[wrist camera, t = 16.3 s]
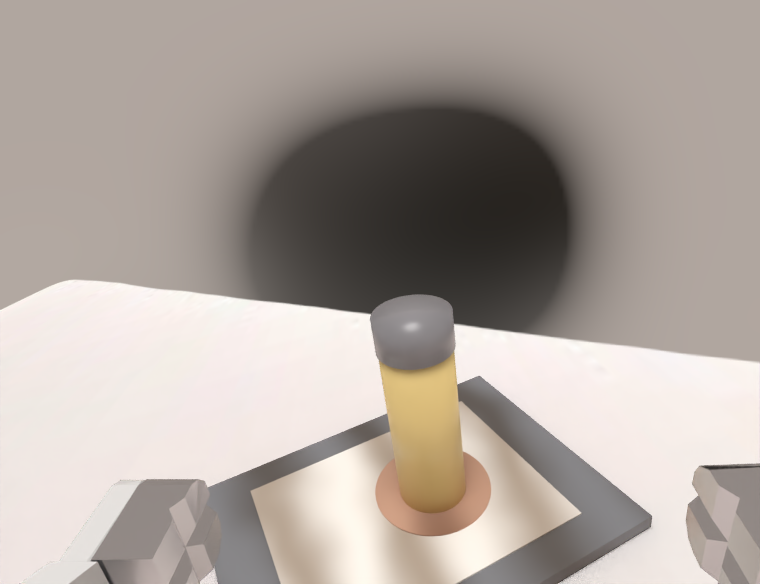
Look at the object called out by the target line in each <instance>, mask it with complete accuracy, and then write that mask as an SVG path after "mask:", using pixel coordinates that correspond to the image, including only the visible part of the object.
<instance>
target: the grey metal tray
mask: <svg viewBox="0 0 760 584" xmlns="http://www.w3.org/2000/svg"><path fill="white" fill-rule="evenodd" d="M457 390H458V401H459V413H460V424H461V436H462V447H463V459H464V470H465V482H466V490H465V494H464V496H463V498H462V500H461V501H460V502H459V503H458V504H457V505H456V506H455V507H453V508H451V509H449V510H447V511H444V512H440V513H423V512H419V511H416V510H414V509H412V508H411V507H409V506H408V505H407V504H406V503H405V502H404V500H403V499H402V497H401V494H400V488H399V482H398V476H397V470H396V463H395V457H394V451H393V445H392V439H391V433H390V426H389V420H388V414H385V415H383V416H380V417H378V418H375V419H373V420H371V421H368V422H366V423H363V424H361V425H358V426H356V427H354V428H351V429H349V430H346V431H344V432H341V433H339V434H337V435H334V436H332V437H329V438H327V439H325V440H322V441H320V442H317V443H315V444H312V445H310V446H308V447H305V448H303V449H300V450H298V451H295V452H293V453H291V454H288V455H286V456H283V457H281V458H278V459H276V460H274V461H271V462H269V463H266V464H264V465H261V466H259V467H257V468H254V469H252V470H249V471H247V472H244V473H242V474H240V475H237V476H235V477H232V478H230V479H228V480H225V481H223V482H220V483H218V484H215V485H213V486H211V487H208V490H209V493H210V497H209V499H208V501H207V503H206V505H208V506H209V507H210V508H212V509H213V510H214V511H215V512H217V514H218V517H219V520H220V524H221V534H222V537H221V544H220V551H219V555H218V558H217V560H216V563H215V571H216V576H217V581H218V584H557V583H559V582H560V581H562V580H563V579H565V578H567V577H568V576H570V575H572V574H573V573H575V572H577V571H578V570H580V569H582V568H583V567H585V566H587V565H588V564H590V563H591V562H593V561H595V560H596V559H598V558H600V557H601V556H603V555H605V554H606V553H608V552H610V551H611V550H613V549H615V548H616V547H618V546H619V545H621V544H623V543H624V542H626V541H628V540H629V539H631V538H633V537H634V536H636V535H638V534H639V533H641V532H643V531H644V530H646V529H647V528H649V527H651V521H652V516H651V515H650V514H649V513H648V512H646V511H645V510H644V509H643V508H642V507H640V506H639V505H638V504H637V503H635V502H634V501H633V500H632V499H630V498H629V497H628V496H627V495H626V494H624V493H623V492H622V491H621V490H619V489H618V488H617V487H616V486H614V485H613V484H612V483H611V482H610V481H608V480H607V479H606V478H605V477H603V476H602V475H601V474H600V473H598V472H597V471H596V470H595V469H594V468H592V467H591V466H590V465H589V464H587V463H586V462H585V461H584V460H582V459H581V458H580V457H579V456H578V455H576V454H575V453H574V452H573V451H571V450H570V449H569V448H568V447H566V446H565V445H564V444H563V443H562V442H560V441H559V440H558V439H557V438H555V437H554V436H553V435H552V434H550V433H549V432H548V431H547V430H546V429H544V428H543V427H542V426H541V425H539V424H538V423H537V422H536V421H534V420H533V419H532V418H531V417H530V416H528V415H527V414H526V413H525V412H523V411H522V410H521V409H520V408H518V407H517V406H516V405H515V404H514V403H512V402H511V401H510V400H509V399H507V398H506V397H505V396H504V395H502V394H501V393H500V392H499V391H498V390H496V389H495V388H494V387H493V386H491V385H490V384H489V383H488V382H486V381H485V380H484V379H483V378H482V377H480V376H477V377H475V378H472V379H470V380H468V381H465V382H463V383H460V384H458V385H457Z"/></svg>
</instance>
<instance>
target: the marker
mask: <svg viewBox="0 0 760 584" xmlns="http://www.w3.org/2000/svg"><path fill="white" fill-rule="evenodd" d="M370 321H371V327H372V333H373V339H374V345H375V352H376V356H377V358H378V359H379V364H380V371H381V377H382V383H383V389H384V395H385V402H386V408H387V414H388V420H389V426H390V433H391V439H392V445H393V451H394V457H395V463H396V470H397V476H398V482H399V488H400V494H401V497H402V499H403V500H404V502H405V503H406V504H407V505H408V506H409V507H411V508H412V509H414V510H416V511H419V512H423V513H440V512H444V511H447V510H449V509H451V508H453V507H455V506H456V505H457V504H458V503H459V502H460V501H461V500H462V498H463V496H464V494H465V490H466V482H465V470H464V459H463V447H462V436H461V424H460V413H459V401H458V390H457V378H456V367H455V355H454V350H455V333H454V321H453V310H452V307H451V305H450V304H449V303H448V302H447V301H445V300H444V299H441V298H439V297H435V296H430V295H409V296H402V297H398V298H394V299H391V300H389V301H386V302H384V303H382V304H381V305H379V306H378V307H377V308H376V309H375V310H374V311H373V312H372V314H371V316H370Z"/></svg>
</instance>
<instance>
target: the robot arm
mask: <svg viewBox="0 0 760 584" xmlns="http://www.w3.org/2000/svg"><path fill="white" fill-rule="evenodd" d="M692 485H693V486H694V488H695V490H696V492H697V493H698V495H699V496H697V497H696V498H695V499H694V500H693V501H692V502H690V503H689V504H688V509H687V516H686V524H687V532H688V538H689V541H690V544H691V547H692V550H693V553H694V555H695V557H696V559H697V561H698V563H699V565H700V567H701V568H702V569H703V570H704V571H705V572H707V573H708V574H709V575H711V576H712V577H713V578H715V579H716V580H717V581H718V584H760V463H759V464H731V465H704V466H699V467H698V468H697V469H696V471H695V472H694V477H693V482H692ZM209 497H210V493H209V490H208V488H207V485H206V483H205V481H202V480H198V479H147V480H120V481H118V482H117V483H115V484H114V485H112V486H111V487H110V489H109V490H108V492H107V493H106V495H105V496H104V497H103V499H102V500H101V502H100V503H99V505H98V506H97V507H96V509H95V510H94V512H93V513H92V515H91V516H90V517H89V519H88V520H87V522H86V523H85V525H84V526H83V527H82V529H81V530H80V532H79V533H78V535H77V536H76V537H75V539H74V540H73V542H72V543H71V545H70V546H69V547H68V549H67V550H66V552H65V553H64V555H63V556H62V557H61V559H60V560H59V562H49V563H48V564H46V565H45V566H44V567H42V568H41V569H39V570H38V571H36V572H35V573H34V574H32V575H31V576H29V577H28V578H27V579H25V580H24V581H22V582H21V583H19V584H200V581H201V580H202V579H203V578H204V577H205V576H206V575H208V574H209V573H210V572H211V571H212V570H213V568H214V566H215V563H216V560H217V558H218V555H219V551H220V544H221V537H222V534H221V524H220V520H219V517H218V514H217V512H215V511H214V510H213V509H212V508H210V507H209V506H208V505H206V503H207V501H208V499H209Z"/></svg>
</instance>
